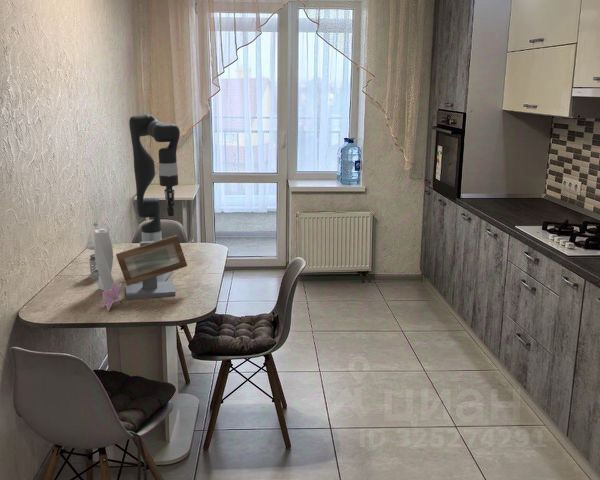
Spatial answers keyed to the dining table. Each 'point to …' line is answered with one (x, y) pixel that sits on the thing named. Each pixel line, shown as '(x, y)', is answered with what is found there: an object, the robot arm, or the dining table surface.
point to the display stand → (150, 287)
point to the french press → (93, 262)
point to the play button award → (162, 277)
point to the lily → (111, 296)
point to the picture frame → (151, 260)
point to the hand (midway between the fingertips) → (170, 214)
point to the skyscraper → (104, 258)
